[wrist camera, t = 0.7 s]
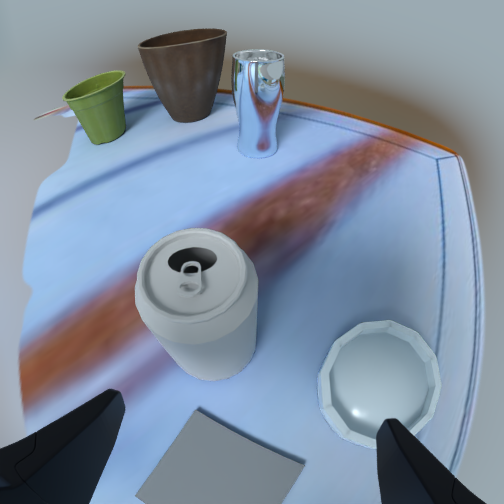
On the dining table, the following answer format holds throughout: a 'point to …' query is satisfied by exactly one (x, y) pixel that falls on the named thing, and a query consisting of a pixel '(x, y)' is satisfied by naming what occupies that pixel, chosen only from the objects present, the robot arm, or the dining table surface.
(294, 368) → the dining table surface
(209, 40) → the plant pot
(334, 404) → the dish
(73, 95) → the plant pot
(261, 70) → the beer glass
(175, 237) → the can
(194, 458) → the mat
